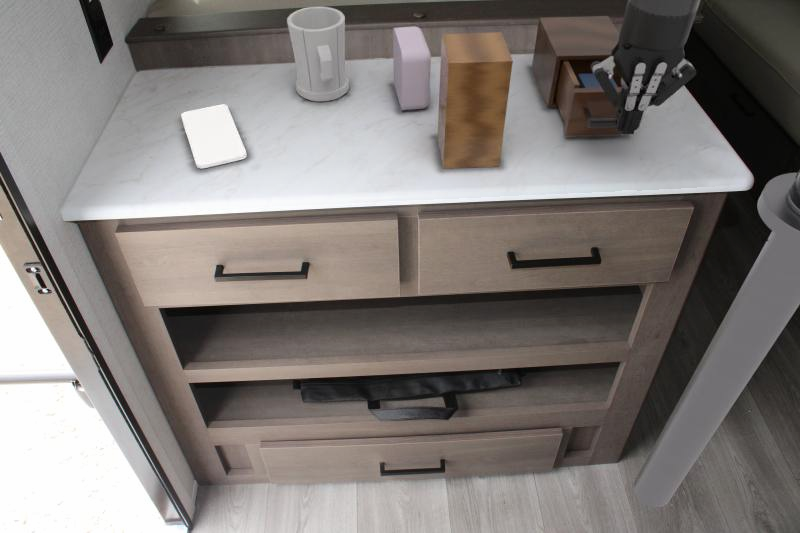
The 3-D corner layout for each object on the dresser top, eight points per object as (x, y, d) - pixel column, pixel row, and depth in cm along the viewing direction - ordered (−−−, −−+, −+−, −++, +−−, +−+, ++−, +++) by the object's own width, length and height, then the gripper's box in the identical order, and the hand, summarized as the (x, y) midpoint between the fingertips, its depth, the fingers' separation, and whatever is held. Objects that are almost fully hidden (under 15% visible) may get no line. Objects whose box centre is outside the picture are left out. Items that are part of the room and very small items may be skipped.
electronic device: (431, 111, 100) (433, 51, 93) (402, 114, 99) (402, 54, 92) (421, 80, 107) (422, 22, 100) (393, 82, 106) (393, 24, 99)
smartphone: (196, 166, 89) (179, 112, 98) (197, 170, 89) (181, 116, 99) (247, 154, 91) (226, 103, 100) (248, 159, 91) (227, 107, 101)
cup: (368, 90, 105) (365, 18, 96) (330, 113, 100) (323, 40, 91) (322, 70, 109) (315, 1, 101) (284, 91, 104) (273, 20, 96)
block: (602, 101, 98) (609, 72, 95) (611, 117, 95) (619, 88, 91) (572, 102, 98) (578, 73, 95) (580, 119, 95) (586, 90, 91)
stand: (490, 135, 95) (501, 32, 84) (499, 166, 89) (512, 60, 78) (437, 137, 95) (441, 33, 83) (443, 168, 89) (448, 62, 78)
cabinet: (618, 106, 100) (632, 54, 94) (547, 108, 100) (556, 56, 94) (596, 66, 110) (608, 15, 104) (531, 68, 110) (539, 17, 103)
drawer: (642, 151, 90) (656, 106, 85) (571, 153, 90) (581, 108, 85) (610, 91, 102) (621, 49, 97) (547, 93, 102) (555, 51, 97)
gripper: (615, 14, 68) (582, 149, 80) (735, 12, 69) (684, 146, 81) (596, -14, 73) (568, 117, 86) (708, -15, 74) (664, 115, 86)
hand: (624, 131), depth 83 cm, fingers closed
